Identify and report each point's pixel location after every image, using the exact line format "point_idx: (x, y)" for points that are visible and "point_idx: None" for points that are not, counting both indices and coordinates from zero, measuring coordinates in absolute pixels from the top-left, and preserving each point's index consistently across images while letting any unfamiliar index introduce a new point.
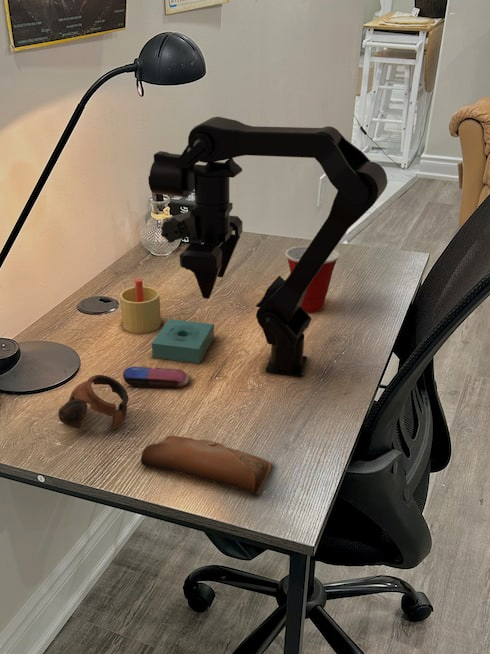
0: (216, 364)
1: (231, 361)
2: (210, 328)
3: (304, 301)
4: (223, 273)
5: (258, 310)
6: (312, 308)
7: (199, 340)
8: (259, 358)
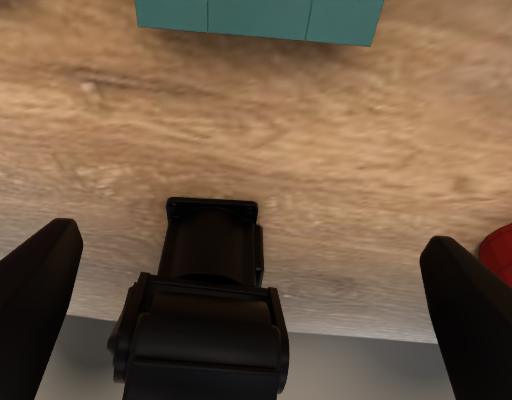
0: (167, 69)
1: (200, 111)
2: (329, 40)
3: (497, 263)
4: (425, 287)
5: (133, 349)
6: (481, 260)
7: (212, 13)
8: (235, 175)
